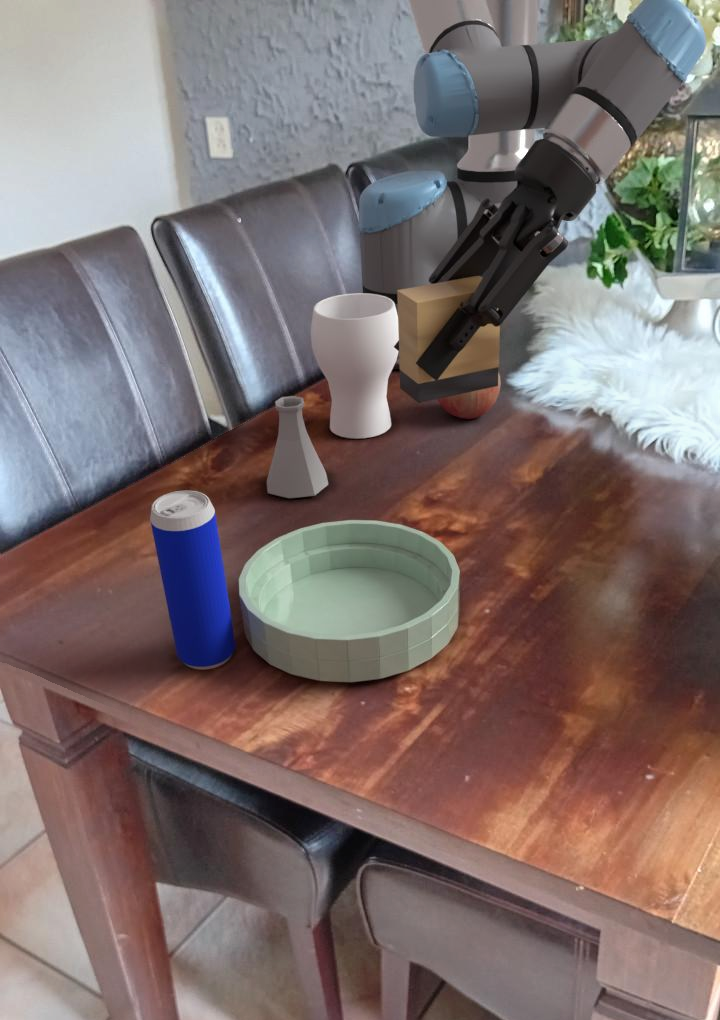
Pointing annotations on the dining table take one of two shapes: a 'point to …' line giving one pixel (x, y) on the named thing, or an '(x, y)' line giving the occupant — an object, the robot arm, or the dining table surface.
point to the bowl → (350, 600)
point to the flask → (294, 455)
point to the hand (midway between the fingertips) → (415, 363)
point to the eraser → (421, 324)
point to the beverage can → (193, 578)
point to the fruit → (471, 402)
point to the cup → (356, 359)
